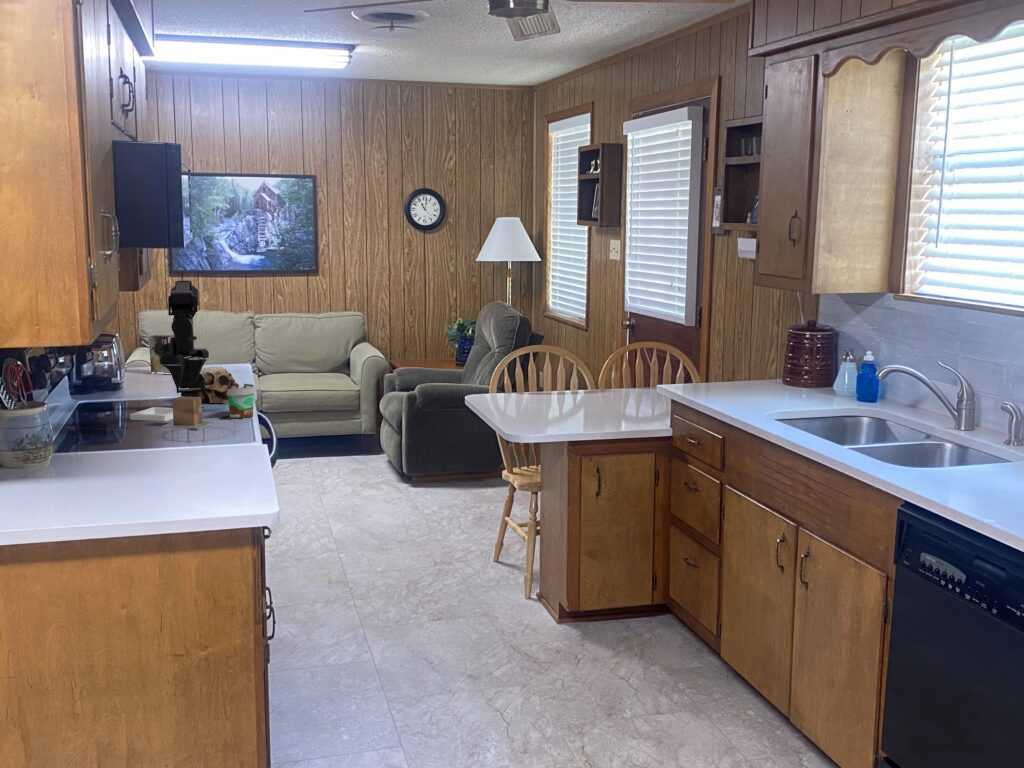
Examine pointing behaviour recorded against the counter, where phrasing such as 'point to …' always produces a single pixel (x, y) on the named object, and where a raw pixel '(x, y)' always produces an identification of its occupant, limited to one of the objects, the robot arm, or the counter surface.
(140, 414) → the pocket tray
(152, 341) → the coffee box
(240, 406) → the food container
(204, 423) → the slate trivet
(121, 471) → the counter surface
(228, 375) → the brown skull
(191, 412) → the walnut block
